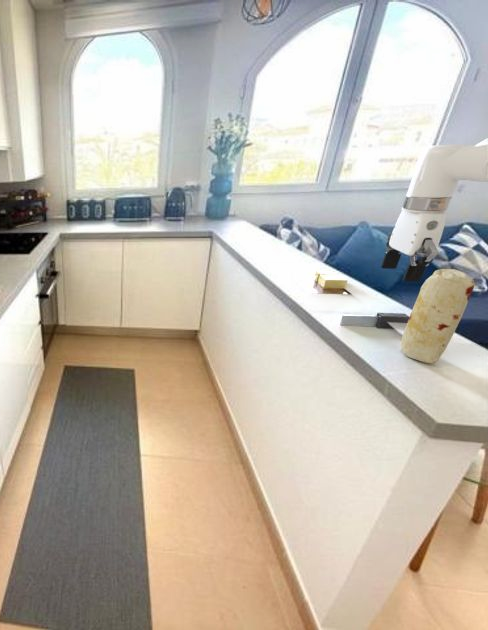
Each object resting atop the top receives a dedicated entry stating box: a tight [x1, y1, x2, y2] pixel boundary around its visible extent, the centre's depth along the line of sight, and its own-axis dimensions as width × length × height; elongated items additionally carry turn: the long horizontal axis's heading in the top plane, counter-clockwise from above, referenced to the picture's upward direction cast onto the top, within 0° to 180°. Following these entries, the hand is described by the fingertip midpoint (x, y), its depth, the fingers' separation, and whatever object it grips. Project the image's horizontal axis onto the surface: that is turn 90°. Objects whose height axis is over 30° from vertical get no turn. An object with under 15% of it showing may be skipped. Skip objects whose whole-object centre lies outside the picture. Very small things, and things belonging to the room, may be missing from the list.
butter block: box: [318, 274, 348, 289], centre depth 112 cm, size 6×5×3 cm
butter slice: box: [314, 271, 340, 282], centre depth 117 cm, size 6×2×3 cm, turn 76°
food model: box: [399, 268, 476, 364], centre depth 74 cm, size 10×7×20 cm
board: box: [291, 275, 352, 295], centre depth 115 cm, size 14×16×2 cm
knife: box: [339, 312, 410, 330], centre depth 90 cm, size 14×2×4 cm, turn 76°
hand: (399, 274), depth 86 cm, fingers open, 9 cm apart
